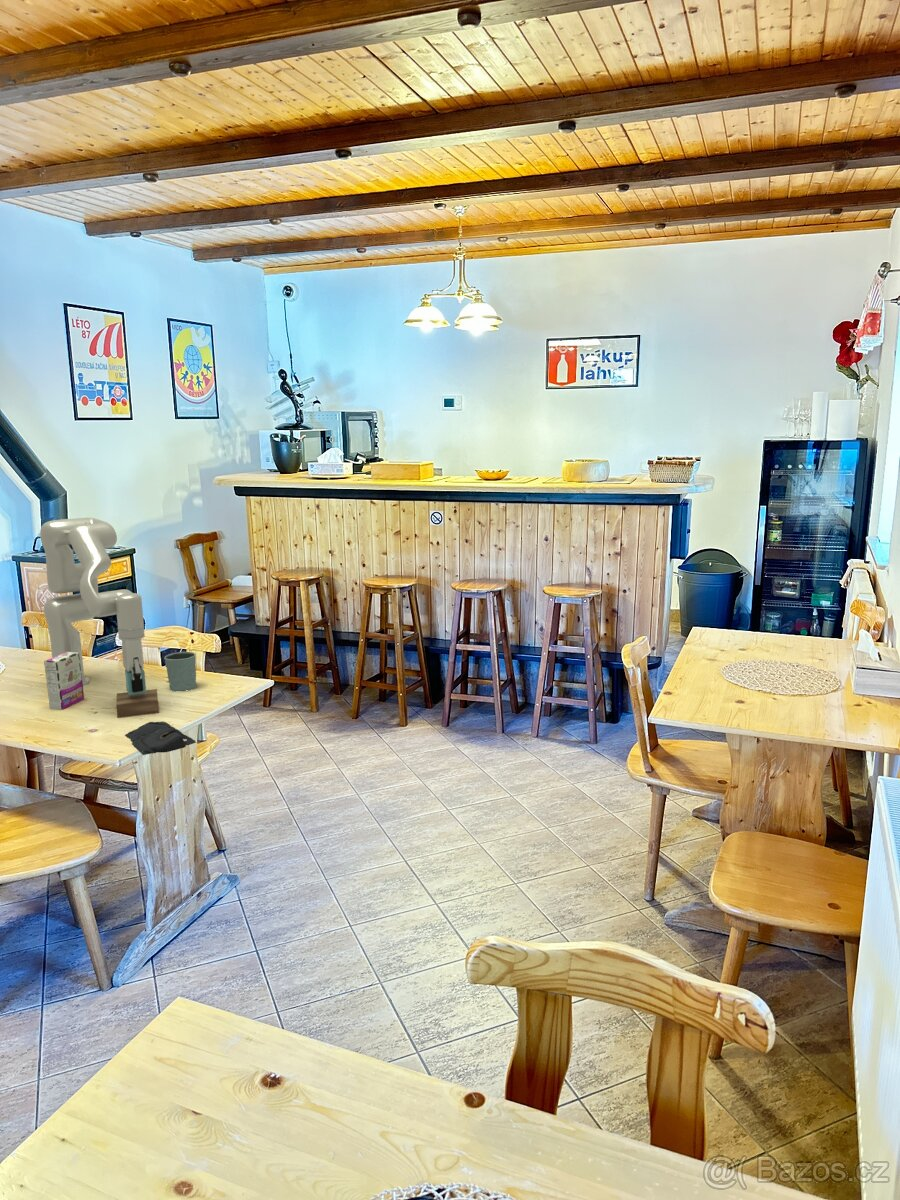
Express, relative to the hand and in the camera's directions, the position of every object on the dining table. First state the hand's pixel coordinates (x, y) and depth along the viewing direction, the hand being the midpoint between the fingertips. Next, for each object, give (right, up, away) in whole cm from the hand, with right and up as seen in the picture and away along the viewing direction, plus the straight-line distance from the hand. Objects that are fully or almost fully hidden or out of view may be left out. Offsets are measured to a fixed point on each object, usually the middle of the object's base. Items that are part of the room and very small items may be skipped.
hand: (136, 688), depth 251 cm
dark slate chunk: (+16, -13, -24) cm, 32 cm away
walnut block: (0, -8, +1) cm, 8 cm away
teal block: (0, -1, 0) cm, 1 cm away
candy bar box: (-25, -6, +7) cm, 27 cm away
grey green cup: (+7, -3, +23) cm, 24 cm away
